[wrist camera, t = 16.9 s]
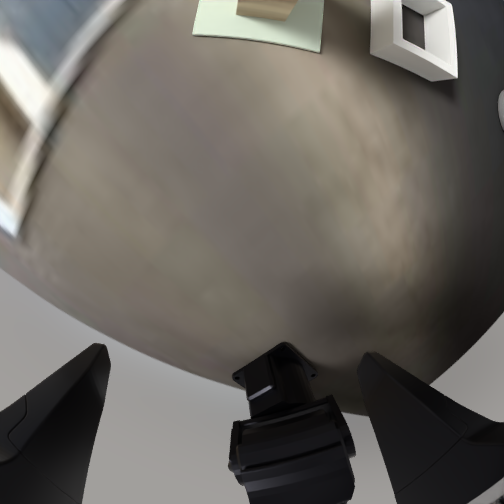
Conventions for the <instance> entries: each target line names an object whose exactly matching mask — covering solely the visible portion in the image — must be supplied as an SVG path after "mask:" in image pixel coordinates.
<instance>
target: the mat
mask: <svg viewBox="0 0 504 504" xmlns="http://www.w3.org/2000/svg"><path fill="white" fill-rule="evenodd" d="M237 3H238V0H200V1H199V6H198V10H197V14H196V19H195V24H194V28H193V33H192V35H193V36H215V37H228V38H238V39H247V40H255V41H262V42H268V43H274V44H280V45H285V46H290V47H295V48H300V49H304V50H308V51H313V52H317V53H319V52H320V45H321V34H322V22H323V9H324V0H298V1H297V3H296V5H295V6H294V8H293V9H292V11H291V13H290V14H289V16H288V17H287V19H286V21H285V22H284V21H278V20H273V19H266V18H260V17H252V16H244V15H236V9H237Z"/></svg>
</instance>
